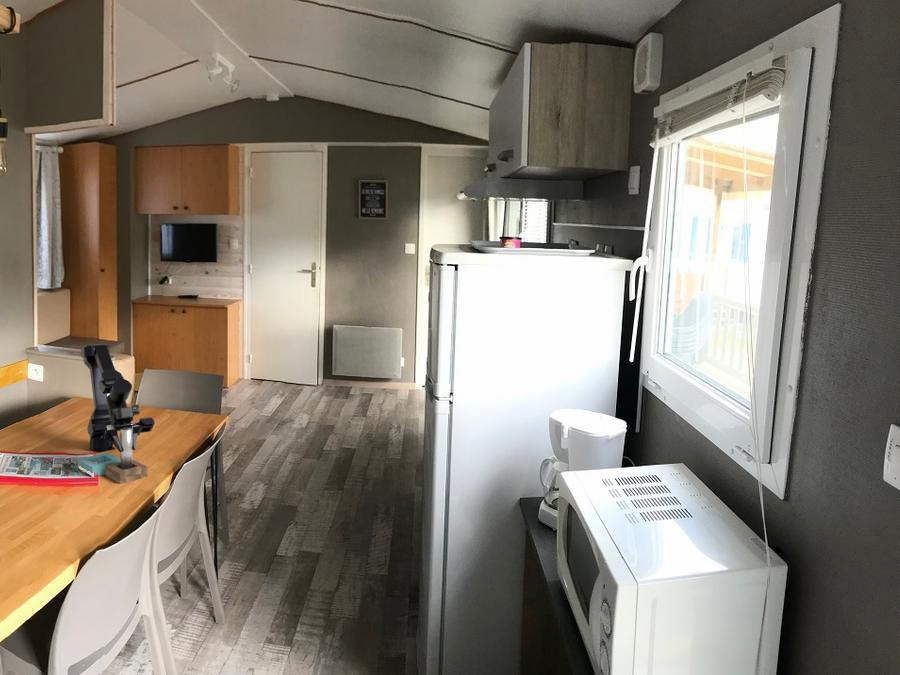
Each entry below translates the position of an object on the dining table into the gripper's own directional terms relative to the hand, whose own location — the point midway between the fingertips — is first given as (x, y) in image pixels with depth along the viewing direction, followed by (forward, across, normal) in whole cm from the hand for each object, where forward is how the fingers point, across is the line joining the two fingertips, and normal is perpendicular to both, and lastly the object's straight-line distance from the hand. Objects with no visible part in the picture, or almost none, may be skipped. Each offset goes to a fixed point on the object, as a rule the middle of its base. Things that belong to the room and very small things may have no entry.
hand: (127, 450), depth 213 cm
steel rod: (+4, 0, +6) cm, 7 cm away
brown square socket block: (+6, 0, +8) cm, 9 cm away
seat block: (-2, -5, +15) cm, 16 cm away
